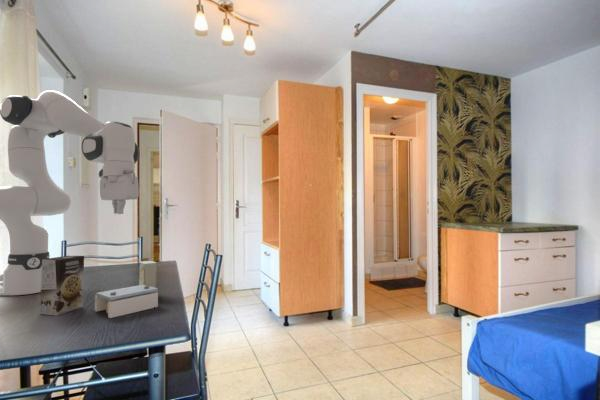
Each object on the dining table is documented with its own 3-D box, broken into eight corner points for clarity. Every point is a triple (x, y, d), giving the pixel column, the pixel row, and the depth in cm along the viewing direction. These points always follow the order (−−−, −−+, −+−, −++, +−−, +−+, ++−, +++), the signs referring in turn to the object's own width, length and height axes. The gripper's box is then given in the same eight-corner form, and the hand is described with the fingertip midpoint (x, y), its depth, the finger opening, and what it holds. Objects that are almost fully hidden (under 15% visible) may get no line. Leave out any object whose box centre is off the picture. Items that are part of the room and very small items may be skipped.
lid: (96, 295, 100) (96, 290, 100) (142, 287, 111) (142, 282, 111) (110, 300, 93) (110, 295, 93) (158, 290, 104) (157, 286, 104)
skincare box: (138, 295, 117) (138, 261, 118) (151, 293, 120) (152, 260, 121) (142, 299, 112) (143, 263, 113) (156, 297, 115) (157, 262, 116)
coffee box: (57, 316, 95) (58, 259, 96) (39, 314, 96) (40, 258, 97) (84, 306, 104) (85, 255, 104) (66, 305, 105) (68, 254, 106)
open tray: (94, 310, 100) (94, 295, 100) (140, 300, 111) (141, 287, 111) (110, 318, 93) (110, 302, 93) (157, 306, 104) (157, 292, 104)
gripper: (144, 170, 104) (143, 214, 103) (116, 174, 116) (115, 213, 116) (123, 168, 99) (122, 214, 98) (96, 172, 111) (95, 213, 111)
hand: (118, 214), depth 107 cm, fingers closed
